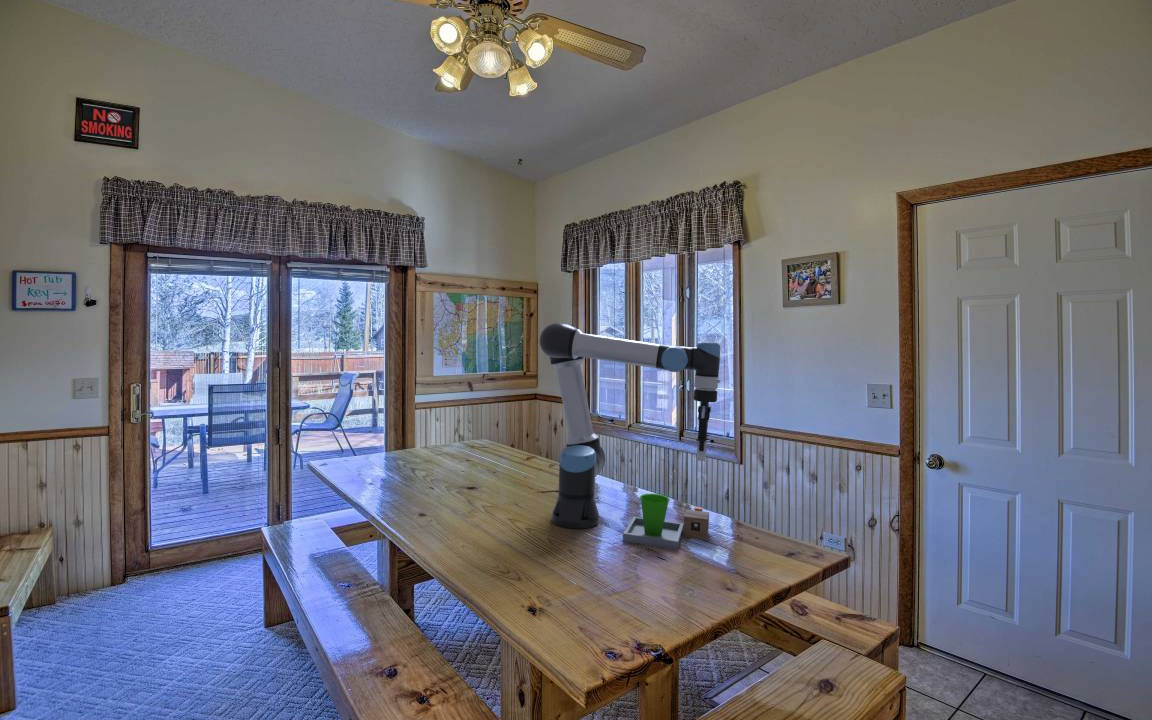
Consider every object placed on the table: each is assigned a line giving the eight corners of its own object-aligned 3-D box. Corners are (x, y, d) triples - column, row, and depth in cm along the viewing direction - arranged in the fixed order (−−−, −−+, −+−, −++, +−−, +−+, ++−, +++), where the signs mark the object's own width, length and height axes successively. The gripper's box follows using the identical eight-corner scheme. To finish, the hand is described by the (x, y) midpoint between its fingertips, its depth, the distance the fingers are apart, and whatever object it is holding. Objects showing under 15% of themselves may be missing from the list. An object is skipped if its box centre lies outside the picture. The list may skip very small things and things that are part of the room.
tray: (622, 541, 160) (623, 533, 160) (633, 523, 175) (633, 516, 175) (677, 549, 155) (678, 541, 155) (683, 530, 170) (683, 523, 170)
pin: (694, 522, 175) (695, 506, 174) (701, 523, 174) (702, 507, 174) (691, 533, 165) (692, 516, 165) (699, 534, 164) (699, 517, 164)
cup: (667, 540, 160) (669, 503, 159) (637, 537, 161) (638, 500, 161) (668, 529, 169) (670, 495, 168) (639, 526, 170) (640, 492, 170)
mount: (685, 529, 172) (686, 509, 171) (708, 532, 169) (709, 512, 169) (683, 536, 165) (684, 516, 165) (706, 540, 163) (707, 519, 162)
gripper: (716, 391, 170) (711, 466, 171) (718, 388, 183) (713, 457, 184) (692, 389, 172) (687, 463, 174) (695, 386, 185) (691, 454, 186)
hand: (700, 460), depth 179 cm, fingers closed
